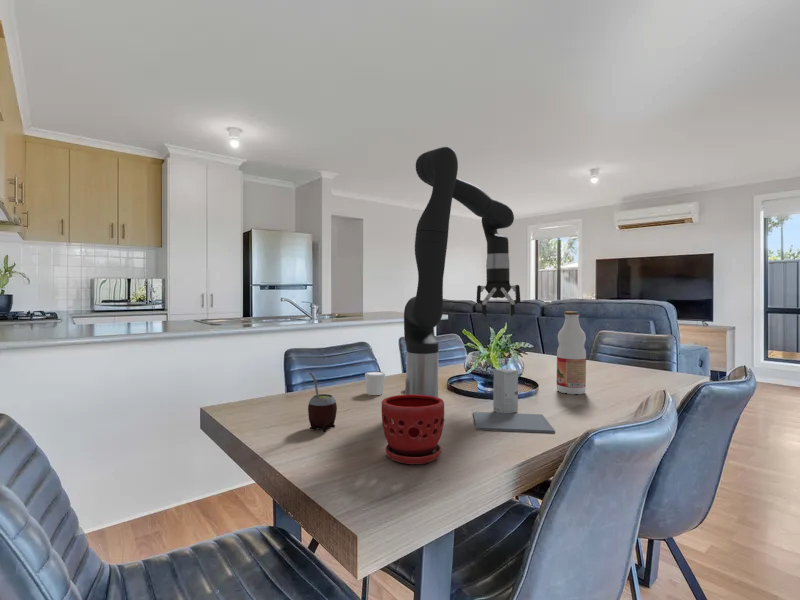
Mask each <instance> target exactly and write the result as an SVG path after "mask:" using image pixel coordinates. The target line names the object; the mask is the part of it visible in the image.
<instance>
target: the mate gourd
mask: <svg viewBox="0 0 800 600" xmlns="http://www.w3.org/2000/svg"><path fill="white" fill-rule="evenodd" d="M309 376H311V377H312V381H313V384H314V389H315V395H313V396H312V397H311V398H310V399H309V401H308V406H307V412H308V413H307V415H308V421H309V425H310V427H309V430H310V429H315V430H321V431H322V432H323V433H327V429H330V427H333V428H335V427H336V425H335V420H336V417H337V411H338V405H337V401H336V398H335V397H334V395H331V394H324V393H323V394H321V393H320V394H319V390H318V389H319V388H318V379H317V378H316V377H315V375H314V374H313V373H312V372H309Z"/></svg>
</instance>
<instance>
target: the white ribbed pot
mask: <svg viewBox="0 0 800 600" xmlns="http://www.w3.org/2000/svg"><path fill="white" fill-rule="evenodd" d="M385 375H386V373H385V372H382V371H368V372H364V376H365V377H364V378H365V390H366V391H365V392H366V395H367V394H369V395H368V396H370V395H380V396H382V395H381V394H383V395H384V389H385V380H386V379H385V377H386V376H385Z"/></svg>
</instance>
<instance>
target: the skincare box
mask: <svg viewBox="0 0 800 600" xmlns="http://www.w3.org/2000/svg"><path fill="white" fill-rule="evenodd" d="M518 389H519V370H518V369H515V368H509V367H508V368H499V369H493V388H492V390H493V393H492V394H493V395H492V396H493V405H492V406H493V412H494V413H517V412H518V410H519V409H518V408H519V390H518Z"/></svg>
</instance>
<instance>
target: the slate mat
mask: <svg viewBox="0 0 800 600" xmlns="http://www.w3.org/2000/svg"><path fill="white" fill-rule="evenodd" d="M472 415H473V421H474V423H475V424H474V426H475V430H476V431H492V430H499V431H500V432H520V433H521V432H523V433H545V434H547V433H548V434H556V430H555V429H554V428H553V426H552V425H551V424H550V422H549V421H548V420H547V418H546V417H545V416H544V415H543V414H542V413H541V414H537V413H517V412H513V413H497V412H481V411H472ZM499 431H498V432H499Z"/></svg>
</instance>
